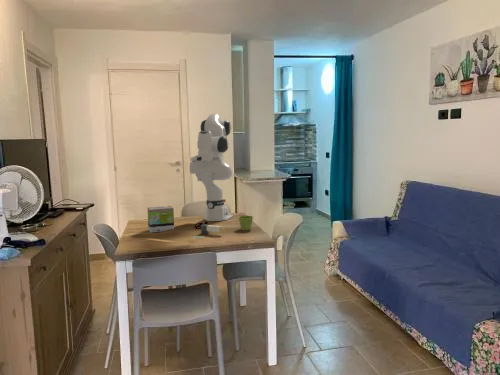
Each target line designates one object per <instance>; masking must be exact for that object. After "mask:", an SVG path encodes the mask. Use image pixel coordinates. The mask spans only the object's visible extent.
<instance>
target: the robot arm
mask: <svg viewBox="0 0 500 375" xmlns="http://www.w3.org/2000/svg"><path fill="white" fill-rule="evenodd" d="M199 126H200V127H199V128H200V129H199V130H200V131H199V132H198V136H197V149H198V152H197V155H195V156H192V157H190V163H189V173H190V174H192V175H193V174H195V177H196V178H197V181H198V182H201V183H202V184H203V186H204V187H205V191H206V207H205V212H204V213H205V215H204V217H203V218H204V220H205V221H206V222H207V221H208V222H221V221H228V220H230V219H232V218H233V217H234V215H233V214H231V212H230V208H229V207H228V206H226V204H225V203H226V202H227V201H226V200H227V199H225V198H223V188H222V187H221V186H220V185H218V184H216V183H215V181H226V180H230V179H231V177H232V175H233V170H232V167H231V166H230V165H229V164H227V163H226V161H225V159H224V158H225V157H224V153H226V151H228V149H229V140H228V137H227V136H229V135H230V134H231V131H232V124H231V122H230V121H229V120H227V119H224V120H223V119H222V118H221V116H220V115H219V114H217V113H211V114H209V115H208V117H207V118H206V119H205V120H204V119H203V120H202V121H201V123H200V125H199Z"/></svg>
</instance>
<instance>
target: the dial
mask: <svg viewBox="0 0 500 375" xmlns="http://www.w3.org/2000/svg"><path fill="white" fill-rule="evenodd" d="M219 235H221V236H222V235H223V234H222V233H219ZM192 236H193V235H191V237H192ZM214 237H215V238H216V237H217V235H214ZM203 238H206V239H208V236H206V237H205V236H204V235H203V236H199V235H195V236H193V237H192V239H196V240H197V239H199V240H200V239H201V240H202V239H203Z"/></svg>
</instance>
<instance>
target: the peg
mask: <svg viewBox="0 0 500 375" xmlns="http://www.w3.org/2000/svg"><path fill="white" fill-rule="evenodd" d="M210 232H214V233H216V232H217V233H223V232H224V226H221V225H210V224H201V225H200V234H201V235H209V234H210Z"/></svg>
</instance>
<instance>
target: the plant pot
mask: <svg viewBox="0 0 500 375" xmlns="http://www.w3.org/2000/svg"><path fill="white" fill-rule="evenodd" d="M237 218H238V221H239V225H240V226H239V227H240V230H241V231H242V230H243V231H250V230H252V224H253V219H254V216H253V215H240V216H238V217H237Z"/></svg>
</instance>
